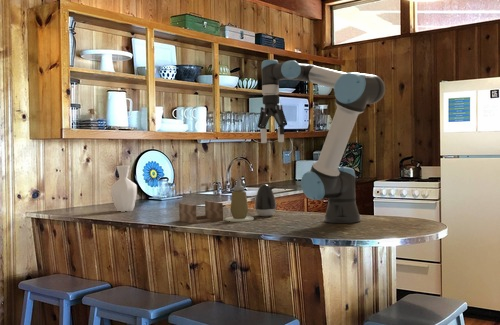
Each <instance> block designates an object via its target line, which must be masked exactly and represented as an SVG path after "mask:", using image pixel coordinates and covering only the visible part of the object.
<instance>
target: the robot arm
mask: <svg viewBox="0 0 500 325" xmlns="http://www.w3.org/2000/svg"><path fill="white" fill-rule="evenodd" d="M260 71H261V89H262V91H261V92H262V93H261V94H262V95H263V96H262V104H263V105H264V106H261V107H260V113H259V118H258V122H257V128H259V129H260V144H267V143H268V138H267V136H268V134H267V133H268V132H267V130H268V129H267V125H268V123H269V121H270V118H271V117H273V118H274V120H275V122H276V124H277V142H278V143H285V127H286V126H288V122H287V119H286V116H285V113H284V109H283V105H282V104H280V95H279V94H280V86H279V85H280V83H279V82H280V81H283V80H284V81H285V80H291V81H302V82H307V83H311V84H315V85H319V86H324V87H327V88H329V89H331V88H332V89H333V92H334V97H335V100H334V101H335V102H334V104H335V105H336V109H335V113H334V115H333V119H332V121H331V125H330V127H329V130H328V132H327V135H326V137H325V140H324V143H323V146H322V149H321V151H320V154H319V155H318V160H317V161H314V162H313V163H312V164H311V168H310V171H307V172H305V173H304V174H303V175H302V177H301V179H300V180H301V181H300V186H301V190H302V192H303V194H304V195H305V197H306V198H307V199H309V200H312V201H321V200H326V199H327V200H328V203H327V207H326V211H325V214H324V222H326V223H331V224H350V223H351V224H354V223H358V222H361V214H360V213H359V212H360V211H359V209H358V205H357V203H356V202H357V200H356V199H357V198H356V196H357V194H356V171H355V170H354V168H352V167H345V166H340V164H341V161H342V158H343V155H344V153H345V150H346V148H347V145H348V143H349V140H350V137H351V135H352V132H353V130H354V127H355V124H356V121H357V120H358V117H359V115H360V114H362V113H364V112H365V109H366V107H367V105H372V104H376V103H378V102H379V101H381V100H382V99H383V97H384V96H385V91H386V86H385V82H384V81H383V79H382V78H381V77H380V76H378V75H375V74H372V73H371V74H369V73H362V72H361V73H360V72H357V71H353V72H344V71H338V70H336V69H330V68H327V67H321V66H317V65H314V64H311V63H299V62H298V61H296V60H287V61H281V62H279V61H278V60H277V59H266V60H265V59H264V60H263V61H262V62H261V70H260Z"/></svg>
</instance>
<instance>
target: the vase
mask: <svg viewBox="0 0 500 325" xmlns="http://www.w3.org/2000/svg"><path fill="white" fill-rule="evenodd" d="M115 167H116V170H117V173H118V176H119V179H117V180H116V181H115V182H114V183H112V185H111V186H110V192H111V193H110V194H111V197H112V201H113V204H114V207H115V208H116V210H117V211H116V212H118V211H121V213H124V212H125V211H127V212H133V211H134V209H135V204H136V201H137V195H138V185H137V184H136V183H135V182H134V181H132V180H130V178H128V176H129V171H130V167H131V165H116V166H115Z"/></svg>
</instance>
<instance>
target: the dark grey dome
mask: <svg viewBox="0 0 500 325" xmlns="http://www.w3.org/2000/svg"><path fill="white" fill-rule="evenodd" d="M275 188H276V189H277V186H276V185H273V186H270V185H269V184H267V183H263V184H261V185H260V186H259V188H258V189H257V191H256V192H257V193H256V196H255V200H254V209H255V212H256V213H257V215H258V216H260V217H271V216H273V215H274V214H275V212H276V209H277V202H276V198H275V195H274V191H273V189H275Z"/></svg>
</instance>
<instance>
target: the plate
mask: <svg viewBox="0 0 500 325" xmlns="http://www.w3.org/2000/svg"><path fill="white" fill-rule="evenodd" d="M229 221H230V223H233V222H234V223H235V222H236V223H241V222H243V223H244V222H250V221H255V217H253V216H249V215H247V216H246V218H243V219H235V218H233V216H228V217H225V222H229Z"/></svg>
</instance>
